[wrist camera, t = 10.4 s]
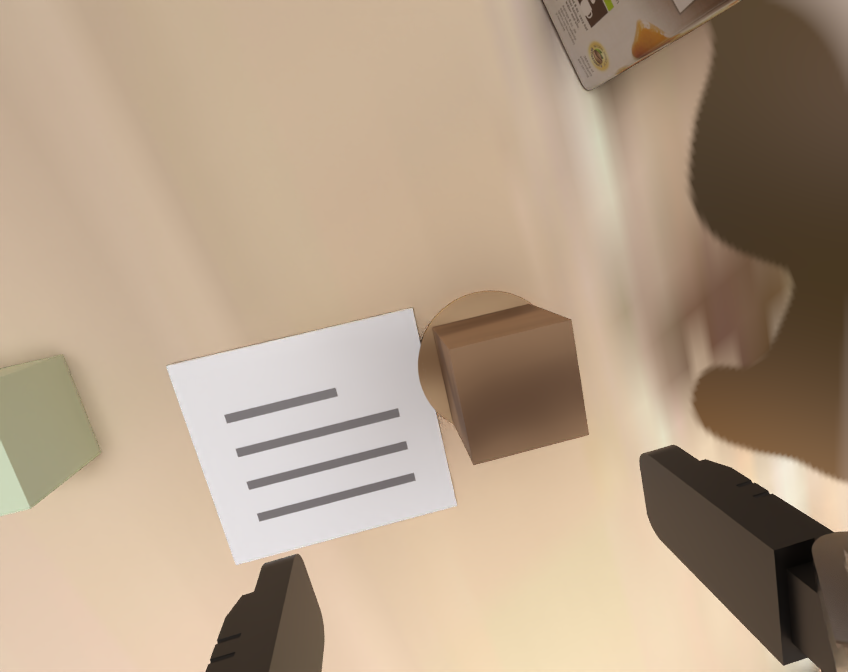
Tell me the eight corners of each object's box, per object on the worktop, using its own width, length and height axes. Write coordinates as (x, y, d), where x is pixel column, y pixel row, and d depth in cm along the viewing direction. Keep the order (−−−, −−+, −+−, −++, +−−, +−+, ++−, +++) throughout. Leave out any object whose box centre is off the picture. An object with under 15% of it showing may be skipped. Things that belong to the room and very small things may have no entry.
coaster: (402, 309, 25) (403, 310, 25) (544, 276, 26) (546, 276, 26) (434, 444, 27) (434, 446, 27) (566, 410, 28) (568, 411, 27)
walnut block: (431, 327, 26) (448, 349, 20) (528, 303, 26) (571, 319, 21) (452, 420, 27) (473, 465, 21) (545, 396, 27) (588, 434, 22)
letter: (168, 364, 25) (165, 366, 24) (411, 307, 25) (412, 308, 25) (237, 561, 27) (235, 565, 27) (456, 503, 28) (457, 505, 28)
